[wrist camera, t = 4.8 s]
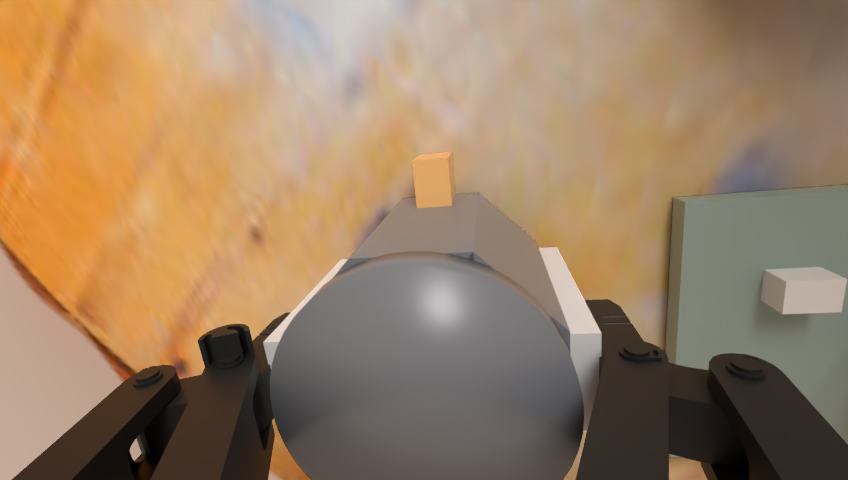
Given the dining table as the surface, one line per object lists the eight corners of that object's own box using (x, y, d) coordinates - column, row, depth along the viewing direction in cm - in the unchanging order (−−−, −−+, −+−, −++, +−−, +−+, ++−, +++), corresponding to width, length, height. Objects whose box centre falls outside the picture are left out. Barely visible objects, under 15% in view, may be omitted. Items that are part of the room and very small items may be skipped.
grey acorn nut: (343, 161, 17) (222, 208, 9) (535, 143, 15) (584, 178, 8) (379, 389, 19) (310, 569, 12) (543, 387, 18) (584, 587, 11)
